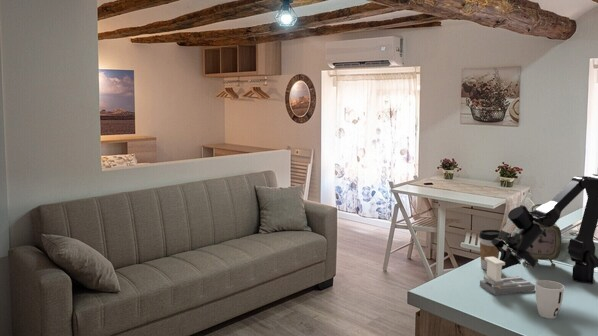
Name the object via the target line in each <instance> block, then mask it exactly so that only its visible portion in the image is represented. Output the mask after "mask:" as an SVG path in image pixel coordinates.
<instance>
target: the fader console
mask: <svg viewBox="0 0 598 336" xmlns="http://www.w3.org/2000/svg"><path fill="white" fill-rule="evenodd" d="M501 280H503V281H504V284H503V285H492V284H490V283H489V282H487V281H485V280H484V279H481V280H479V286H480V287H481V288H483V289H485V290H486V291H487V292H489V293H490V294H492V295H494V296H498V295H507V294H508V295H509V293H510V294H517V292H519V293H526V292H525V291H528V292H534V291H533V290H535V291H536V287H535V284H534V283H532V282H531V281H530V280H526V279H524V278H523V276H512V277H511V276H509V277H501Z"/></svg>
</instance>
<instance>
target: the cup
mask: <svg viewBox="0 0 598 336" xmlns="http://www.w3.org/2000/svg"><path fill="white" fill-rule="evenodd" d="M534 285H535V301H536V308H537V312H538V314H539V316H540V317H542V318H546V319H556V318H557V317H558V315H559V312H560V310H561V306H562V302H563V298H564V293H565V292H564V291H565V285H564V284H562V283H560V282H558V281H554V280H547V279H540V280H537V281H535V284H534Z"/></svg>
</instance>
